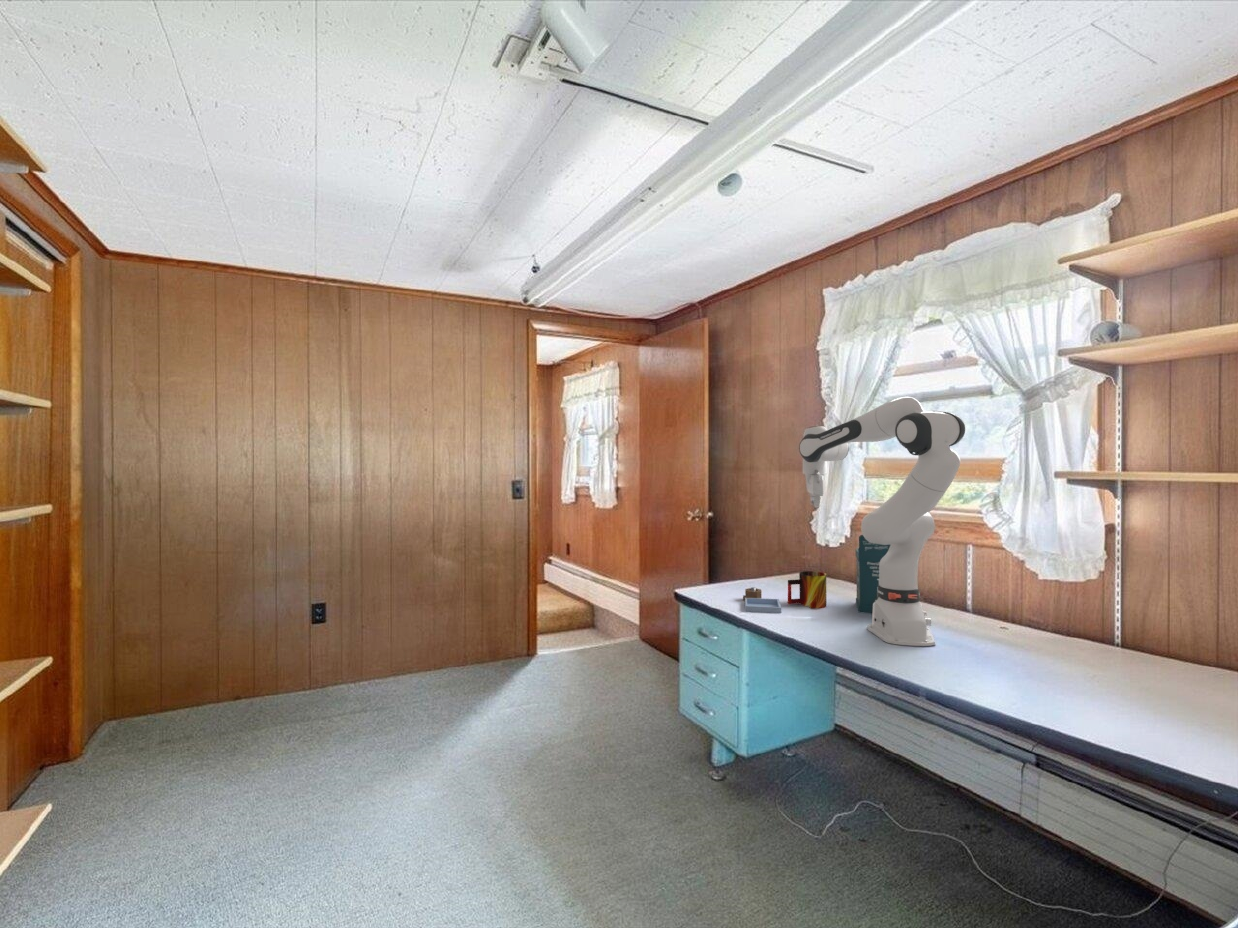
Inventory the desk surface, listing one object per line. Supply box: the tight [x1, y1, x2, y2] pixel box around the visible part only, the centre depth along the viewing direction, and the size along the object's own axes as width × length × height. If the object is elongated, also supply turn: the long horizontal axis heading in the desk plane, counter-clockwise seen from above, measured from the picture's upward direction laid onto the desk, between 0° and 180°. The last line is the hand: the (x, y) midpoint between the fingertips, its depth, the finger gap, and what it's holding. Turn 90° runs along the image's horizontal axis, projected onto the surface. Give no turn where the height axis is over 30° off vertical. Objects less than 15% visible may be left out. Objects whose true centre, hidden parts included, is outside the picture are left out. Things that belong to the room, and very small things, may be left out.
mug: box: [787, 570, 827, 609], centre depth 217 cm, size 10×14×12 cm
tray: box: [744, 597, 782, 614], centre depth 213 cm, size 12×12×2 cm
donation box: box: [855, 534, 890, 614], centre depth 213 cm, size 16×16×28 cm
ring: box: [742, 587, 762, 601], centre depth 224 cm, size 6×7×4 cm
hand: (815, 506), depth 217 cm, fingers open, 8 cm apart
